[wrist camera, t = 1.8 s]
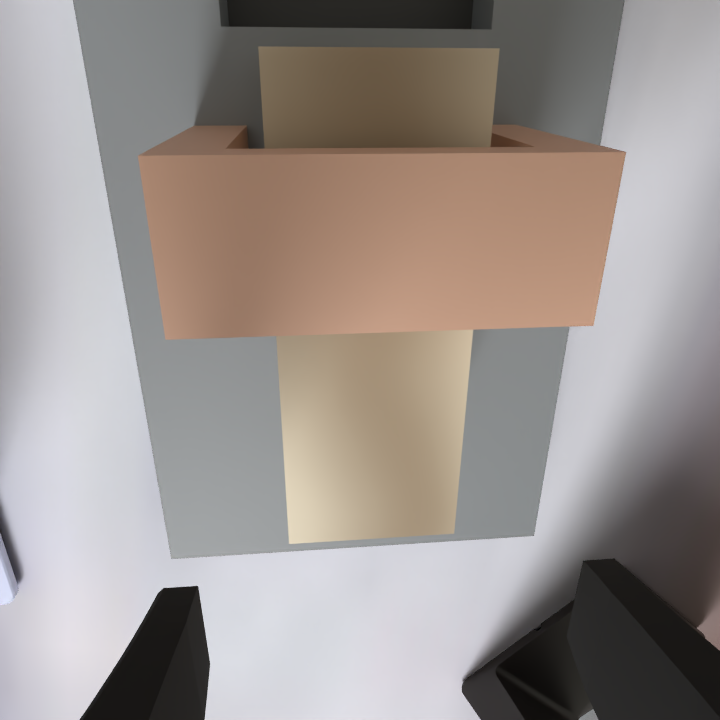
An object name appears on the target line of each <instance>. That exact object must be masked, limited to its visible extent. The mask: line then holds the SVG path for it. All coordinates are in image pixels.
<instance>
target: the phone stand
mask: <svg viewBox="0 0 720 720" xmlns="http://www.w3.org/2000/svg"><path fill="white" fill-rule="evenodd" d="M640 582H641V581H640ZM641 583H642V582H641ZM642 584H643V583H642ZM646 587H647V586H646ZM647 588H648V587H647ZM648 589H649V588H648ZM649 590H650V589H649ZM650 591H651V590H650ZM651 592H653V591H651ZM653 593H654V592H653ZM654 594H655V593H654ZM655 595H656V594H655ZM656 596H657V595H656ZM657 597H658V596H657ZM658 598H659V599H660V600H662V599H661V598H660V597H658ZM574 601H575V599H574V600H573V601H571V602H570V603H569V604H567V605H566V606H565V607H563V608H562V609H561V610H559V611H558V612H557V613H555V614H554V615H552V616H551V617H550V618H548V619H547V620H546V621H544V622H543V623H542V624H541V629H540V630H538V631H537V630H535V629H533V630H532V631H531V632H529V633H528V634H527V635H525V636H524V637H523V638H521V639H520V640H519V641H517V642H516V643H514V644H513V645H512V646H510V647H509V648H508V649H506V650H505V651H504V652H502V653H501V654H500V655H498V656H497V657H496V658H494V659H493V660H491V661H490V662H489V663H487V664H486V665H485V666H483V667H482V668H481V669H479V670H478V671H477V672H475V673H474V674H472V675H471V676H470V677H468V678H467V679H466V680H465V681H464V682H463V685H462V693H463V694H464V696H465V697H466V699H467V700H468V702H469V703H470V704H471V706H472V707H473V709H474V710H475V712H476V713H477V715H478V716H479V717H480V719H481V720H579V718H580V717H581V716H583V715H584V714H586V713H587V712H589V711H590V710H592V709H593V707H592V704H591V702H590V700H589V698H588V696H587V694H586V691H585V688H584V686H583V683H582V680H581V677H580V675H579V672H578V669H577V666H576V663H575V660H574V657H573V654H572V651H571V648H570V645H569V642H568V639H567V632H568V628H569V623H570V619H571V614H572V610H573V605H574ZM662 601H663V600H662ZM663 602H664V601H663ZM664 603H665V604H666V605H667V606H668V607H669V608H671V609H672V610H673V611H674V612H675V613H676V614H677V615H678V616H680V617H681V618H682V619H683V620H684V621H685V622H686V623H688V624H689V625H690V626H691V627H692V628H693V629H695V630H696V631H697V632H698V633H699V634H700V635H702V636H703V637H704V638H705V636H704V634H703V633H702V632H700V631H699V630H698V629H697V628H696V627H694V626H693V625H692V624H691V623H690V622H688V621H687V620H686V619H685V618H684V617H682V616H681V615H680V614H679V613H678V612H676V611H675V610H674V609H673V608H672V607H670V606H669V605H668V604H667V603H666V602H664Z"/></svg>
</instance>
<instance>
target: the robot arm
mask: <svg viewBox="0 0 720 720" xmlns="http://www.w3.org/2000/svg"><path fill="white" fill-rule="evenodd" d="M17 593H18V585H17V582H16V579H15V576H14V573H13V570H12V567H11V564H10V561H9V558H8V555H7V552H6V549H5V546H4V543H3V540H2V537H1V534H0V605H5V604H9V603H11V602H12V601H13V600H14V598H15V596H16V595H17ZM567 639H568V642H569V645H570V648H571V651H572V654H573V657H574V660H575V663H576V666H577V669H578V672H579V675H580V677H581V680H582V683H583V686H584V688H585V691H586V694H587V696H588V698H589V700H590V702H591V704H592V707H593V709H594V711H595V713H596V715H597V717H598V719H599V720H720V651H719V650H718V649H717V648H716V647H714V646H713V645H712V644H711V643H710V642H709V641H707V640H706V639H705V638H704V637H703V636H702V635H700V634H699V633H698V632H697V631H696V630H695V629H693V628H692V627H691V626H690V625H689V624H688V623H686V622H685V621H684V620H683V619H682V618H681V617H680V616H678V615H677V614H676V613H675V612H674V611H673V610H672V609H671V608H669V607H668V606H667V605H666V604H665V603H664V602H663V601H662V600H660V599H659V598H658V597H657V596H656V595H655V594H654V593H653V592H651V591H650V590H649V589H648V588H647V587H646V586H645V585H644V584H642V583H641V582H640V581H639V580H638V579H637V578H636V577H635V576H634V575H632V574H631V573H630V572H629V571H628V570H627V569H626V568H624V567H623V566H622V565H621V564H620V563H619V562H617V561H616V560H615V559H602V560H587V561H583V565H582V569H581V574H580V578H579V583H578V587H577V592H576V596H575V601H574V605H573V610H572V614H571V619H570V623H569V628H568V632H567ZM209 668H210V661H209V654H208V648H207V641H206V635H205V628H204V622H203V616H202V609H201V603H200V596H199V590H198V586H191V587H176V588H163V589H162V590H161V591H160V592H159V593H158V594H157V596H156V598H155V600H154V602H153V604H152V605H151V607H150V609H149V611H148V613H147V614H146V616H145V618H144V620H143V621H142V623H141V625H140V627H139V628H138V630H137V632H136V633H135V635H134V637H133V638H132V640H131V642H130V643H129V645H128V647H127V648H126V650H125V652H124V653H123V655H122V656H121V658H120V660H119V661H118V663H117V664H116V666H115V667H114V669H113V671H112V672H111V674H110V675H109V677H108V678H107V680H106V681H105V683H104V684H103V686H102V687H101V689H100V690H99V692H98V694H97V695H96V697H95V698H94V700H93V701H92V703H91V704H90V706H89V707H88V709H87V710H86V711H85V713H84V714H83V716H82V717H81V718H80V720H204V719H205V709H206V700H207V690H208V679H209Z"/></svg>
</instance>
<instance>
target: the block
mask: <svg viewBox="0 0 720 720" xmlns="http://www.w3.org/2000/svg"><path fill="white" fill-rule="evenodd" d="M258 50H259V66H260V82H261V98H262V115H263V131H264V147H265V149H277V148H431V147H490V146H491V135H492V125H493V114H494V103H495V93H496V82H497V71H498V61H499V50H500V48H389V47H264V46H258ZM472 338H473V330H446V331H416V332H386V333H356V334H326V335H296V336H276V341H277V357H278V373H279V389H280V405H281V421H282V438H283V454H284V470H285V486H286V502H287V518H288V535H289V544H298V543H314V542H330V541H346V540H362V539H378V538H393V537H409V536H425V535H441V534H454V529H455V519H456V508H457V497H458V487H459V476H460V465H461V455H462V444H463V433H464V423H465V412H466V401H467V391H468V380H469V370H470V359H471V348H472Z"/></svg>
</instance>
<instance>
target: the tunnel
mask: <svg viewBox="0 0 720 720" xmlns="http://www.w3.org/2000/svg"><path fill="white" fill-rule="evenodd" d="M625 155H626V152H624V151H620V150H616V149H612V148H608V147H604V146H600V145H596V144H592V143H588V142H584V141H580V140H575V139H571V138H567V137H563V136H559V135H555V134H551V133H547V132H543V131H539V130H535V129H531V128H527V127H523V126H519V125H492V135H491V146H490V147H431V148H277V149H249V148H248V134H247V125H242V126H192V127H191V128H189V129H187V130H185V131H183V132H181V133H179V134H177V135H176V136H174V137H172V138H170V139H168V140H166V141H164V142H162V143H161V144H159V145H157V146H155V147H153V148H151V149H149V150H147V151H146V152H144V153H142V154H140V155H138V161H139V167H140V174H141V181H142V187H143V194H144V200H145V207H146V214H147V220H148V227H149V234H150V240H151V247H152V254H153V260H154V267H155V274H156V280H157V287H158V294H159V300H160V307H161V314H162V320H163V327H164V334H165V340H175V339H205V338H235V337H265V336H296V335H326V334H356V333H386V332H416V331H446V330H476V329H507V328H537V327H567V326H593V325H594V320H595V314H596V309H597V304H598V298H599V293H600V288H601V282H602V277H603V272H604V266H605V261H606V256H607V250H608V245H609V240H610V234H611V229H612V224H613V218H614V213H615V208H616V203H617V197H618V192H619V187H620V181H621V176H622V171H623V165H624V160H625Z"/></svg>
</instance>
